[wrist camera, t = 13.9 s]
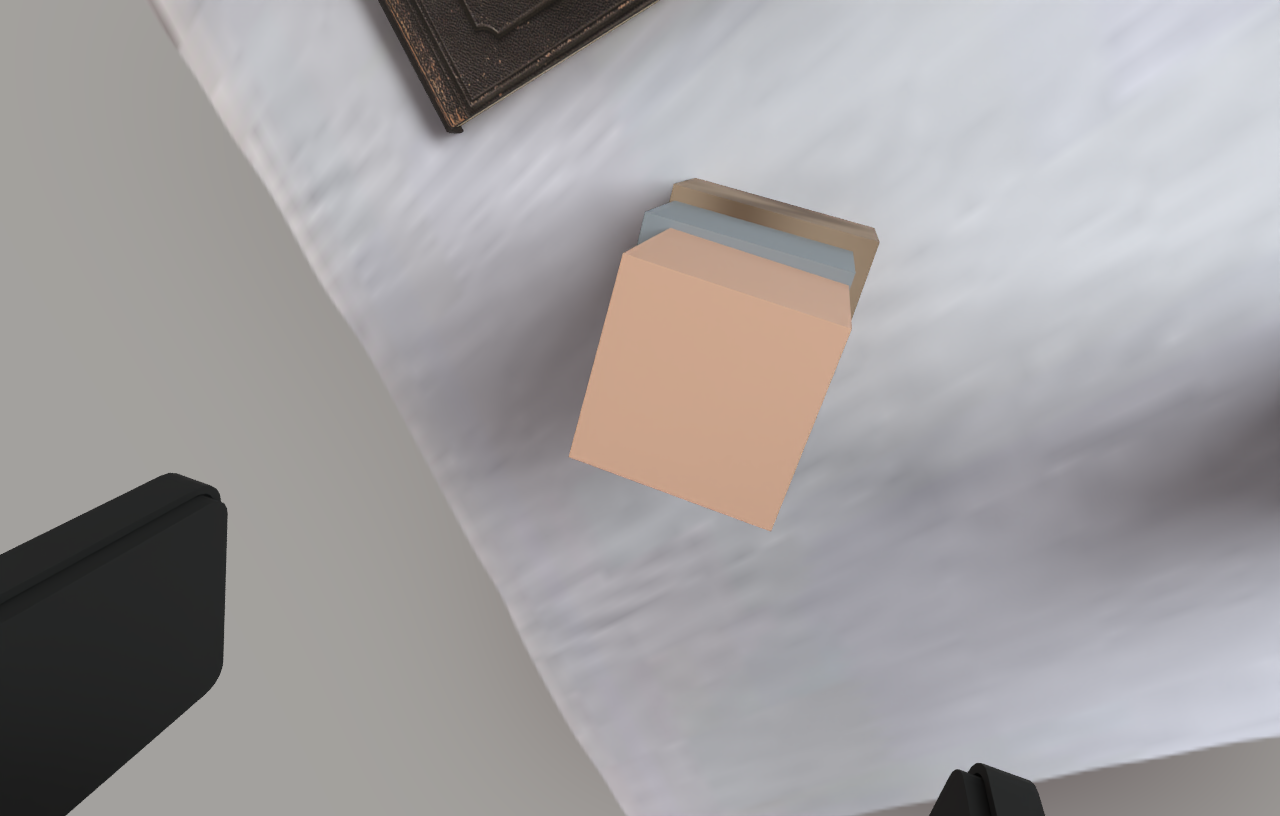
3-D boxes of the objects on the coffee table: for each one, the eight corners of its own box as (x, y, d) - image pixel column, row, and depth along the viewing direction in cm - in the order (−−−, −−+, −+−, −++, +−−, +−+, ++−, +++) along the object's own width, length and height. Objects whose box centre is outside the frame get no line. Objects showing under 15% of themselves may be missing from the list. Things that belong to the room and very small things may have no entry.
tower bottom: (873, 227, 33) (879, 241, 28) (813, 396, 36) (809, 434, 31) (695, 177, 34) (673, 183, 30) (651, 345, 37) (625, 374, 33)
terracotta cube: (848, 285, 24) (851, 328, 19) (785, 450, 27) (770, 531, 21) (670, 227, 25) (623, 253, 20) (623, 392, 27) (568, 457, 22)
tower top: (852, 251, 29) (855, 273, 24) (793, 418, 31) (786, 467, 27) (674, 200, 30) (644, 212, 25) (632, 366, 32) (598, 404, 28)
